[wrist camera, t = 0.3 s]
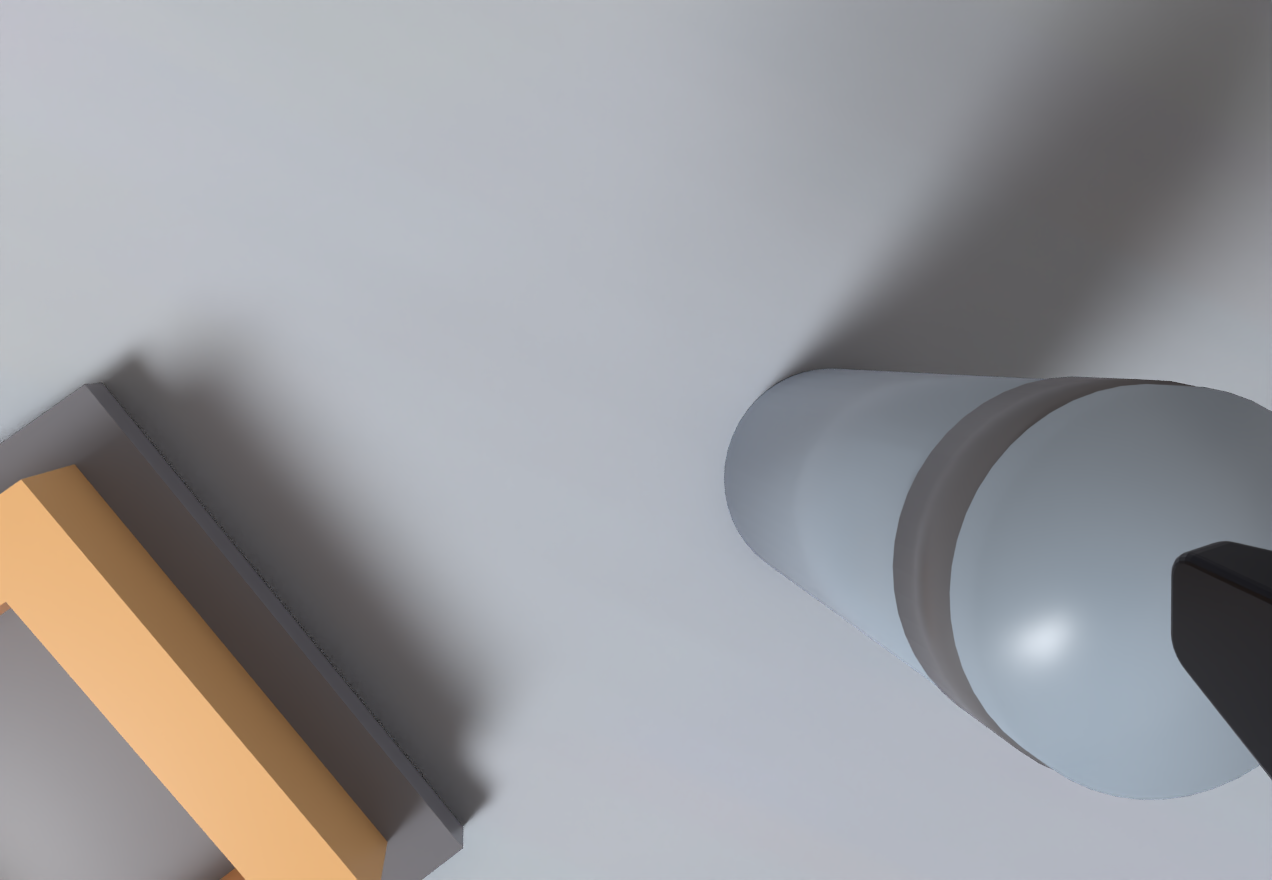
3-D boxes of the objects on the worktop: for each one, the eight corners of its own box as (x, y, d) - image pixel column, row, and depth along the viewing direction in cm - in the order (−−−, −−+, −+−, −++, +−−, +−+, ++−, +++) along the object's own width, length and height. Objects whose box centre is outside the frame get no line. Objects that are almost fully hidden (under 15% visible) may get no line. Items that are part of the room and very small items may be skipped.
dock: (463, 827, 24) (461, 909, 20) (-1, 1181, 23) (-86, 1330, 19) (102, 382, 22) (32, 389, 18) (-419, 749, 21) (-595, 829, 17)
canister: (883, 613, 25) (1263, 856, 13) (688, 539, 24) (903, 725, 12) (964, 414, 25) (1424, 473, 13) (772, 332, 24) (1069, 314, 12)
